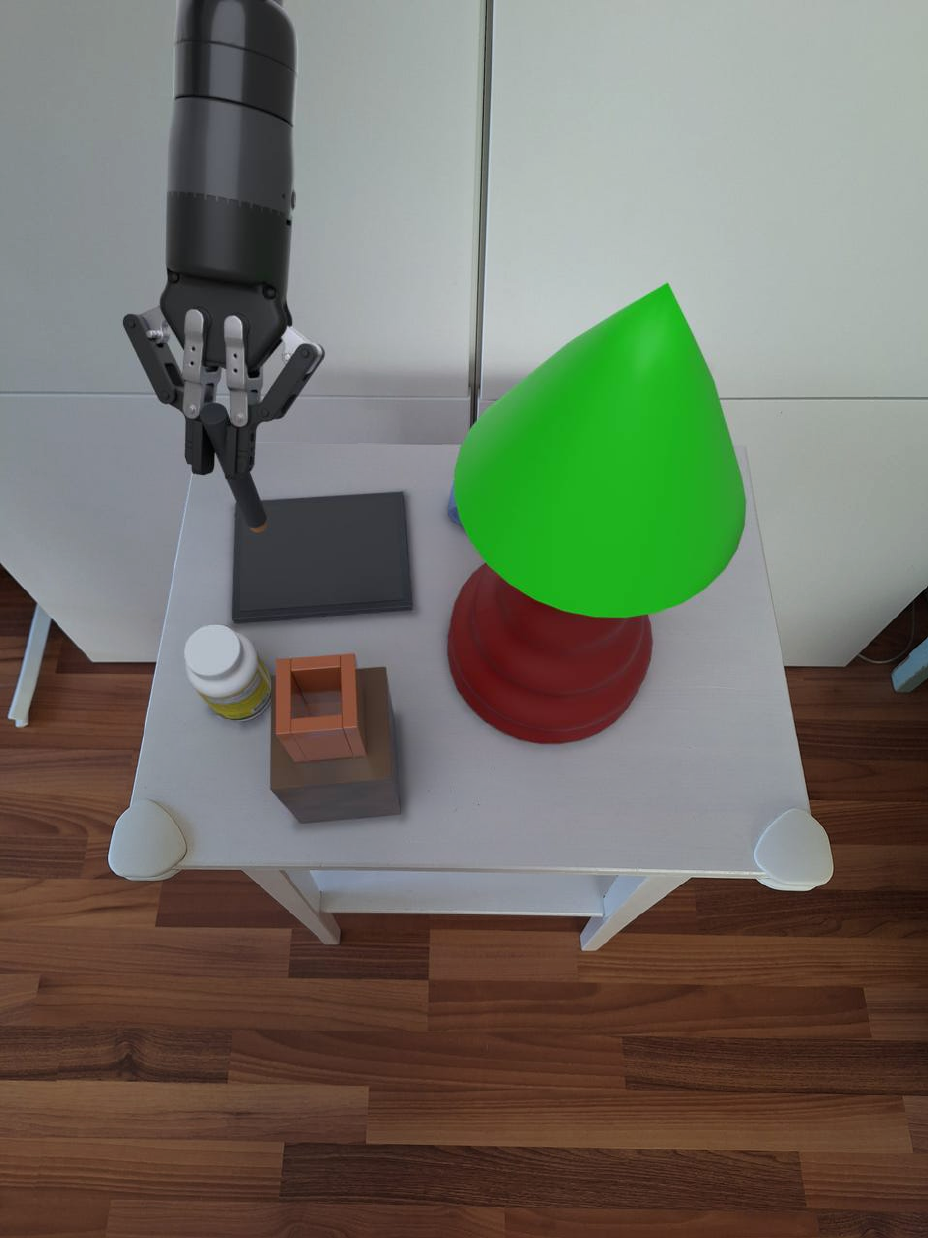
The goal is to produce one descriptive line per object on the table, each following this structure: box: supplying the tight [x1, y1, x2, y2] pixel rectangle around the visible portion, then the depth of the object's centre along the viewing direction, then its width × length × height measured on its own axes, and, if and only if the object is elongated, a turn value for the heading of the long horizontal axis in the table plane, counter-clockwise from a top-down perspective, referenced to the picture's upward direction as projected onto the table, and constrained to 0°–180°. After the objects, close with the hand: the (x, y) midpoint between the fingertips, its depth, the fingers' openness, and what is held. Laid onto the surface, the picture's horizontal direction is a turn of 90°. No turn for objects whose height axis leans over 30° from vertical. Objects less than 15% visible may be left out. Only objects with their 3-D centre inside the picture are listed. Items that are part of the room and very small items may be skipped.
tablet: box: [231, 491, 413, 624], centre depth 80 cm, size 18×14×1 cm
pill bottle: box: [183, 624, 272, 723], centre depth 69 cm, size 6×6×11 cm
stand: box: [269, 666, 401, 825], centre depth 65 cm, size 9×9×14 cm
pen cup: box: [275, 652, 367, 763], centre depth 55 cm, size 5×5×8 cm
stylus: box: [200, 402, 267, 532], centre depth 57 cm, size 2×2×14 cm
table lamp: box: [446, 282, 747, 745], centre depth 57 cm, size 20×20×45 cm
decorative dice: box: [447, 480, 463, 526], centre depth 82 cm, size 4×4×4 cm
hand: (219, 475), depth 54 cm, fingers closed on stylus, 2 cm apart
